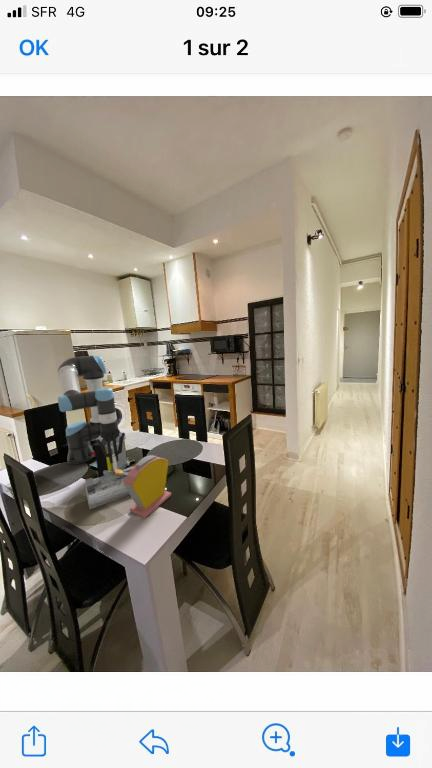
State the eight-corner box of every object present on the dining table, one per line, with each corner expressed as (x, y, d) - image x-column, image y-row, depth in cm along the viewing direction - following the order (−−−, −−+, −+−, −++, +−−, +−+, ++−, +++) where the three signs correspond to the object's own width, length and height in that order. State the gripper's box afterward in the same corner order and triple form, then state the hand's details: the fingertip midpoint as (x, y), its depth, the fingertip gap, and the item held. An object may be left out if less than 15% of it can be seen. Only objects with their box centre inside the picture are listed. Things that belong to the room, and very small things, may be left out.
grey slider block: (86, 488, 117) (85, 479, 116) (100, 484, 120) (99, 475, 119) (88, 496, 111) (86, 486, 110) (102, 491, 114) (101, 482, 113)
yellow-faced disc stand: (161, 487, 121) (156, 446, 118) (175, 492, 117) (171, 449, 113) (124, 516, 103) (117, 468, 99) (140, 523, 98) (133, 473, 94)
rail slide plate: (86, 494, 120) (83, 480, 119) (139, 475, 134) (138, 463, 132) (89, 509, 108) (87, 495, 107) (148, 487, 122) (146, 474, 121)
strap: (102, 471, 119) (103, 467, 119) (133, 473, 128) (135, 470, 128) (104, 476, 114) (106, 472, 114) (137, 479, 122) (138, 475, 123)
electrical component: (113, 481, 129) (107, 445, 126) (96, 480, 132) (90, 445, 128) (131, 464, 146) (126, 432, 143) (115, 464, 148) (111, 432, 145)
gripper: (94, 426, 108) (101, 476, 112) (124, 420, 115) (131, 467, 119) (91, 422, 115) (99, 469, 119) (121, 416, 121) (127, 461, 126)
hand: (115, 468), depth 119 cm, fingers closed
